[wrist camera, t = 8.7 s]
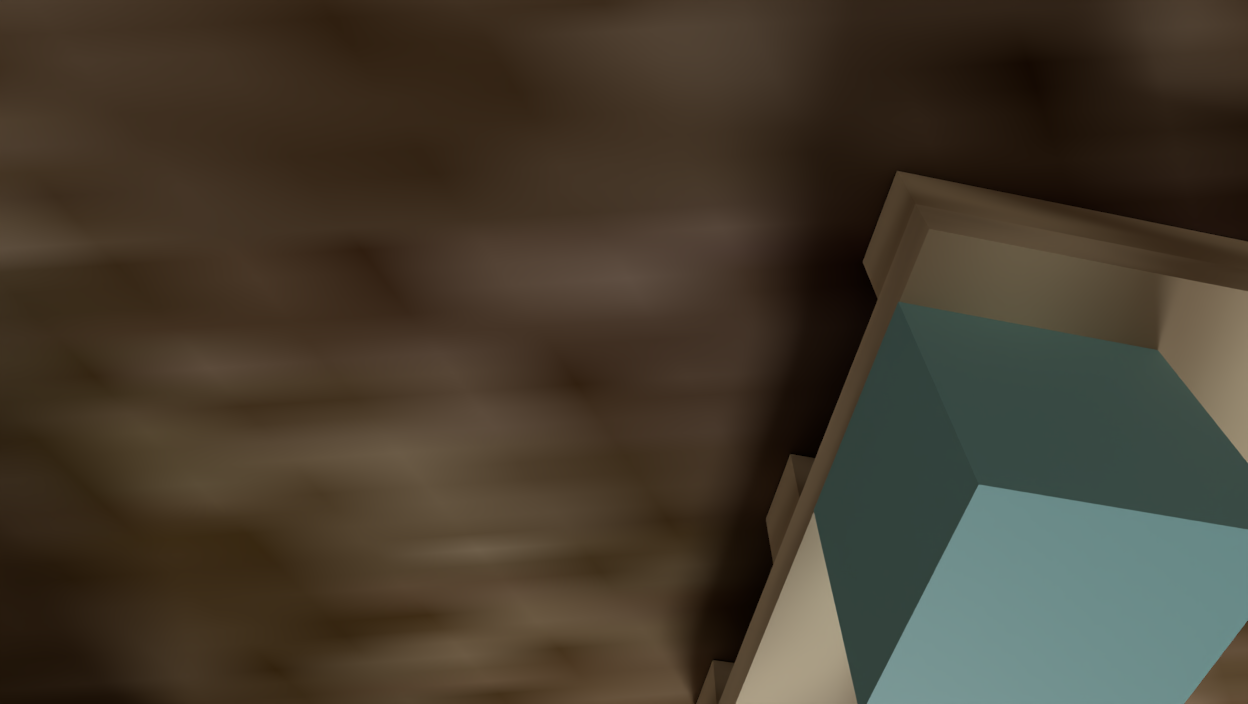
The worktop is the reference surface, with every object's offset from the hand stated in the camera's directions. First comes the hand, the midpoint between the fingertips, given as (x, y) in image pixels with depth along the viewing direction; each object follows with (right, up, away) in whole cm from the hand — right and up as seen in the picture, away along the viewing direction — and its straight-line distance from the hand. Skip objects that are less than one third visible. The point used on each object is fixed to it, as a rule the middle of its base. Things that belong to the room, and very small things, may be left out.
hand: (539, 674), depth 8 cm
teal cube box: (+7, +1, +12) cm, 14 cm away
